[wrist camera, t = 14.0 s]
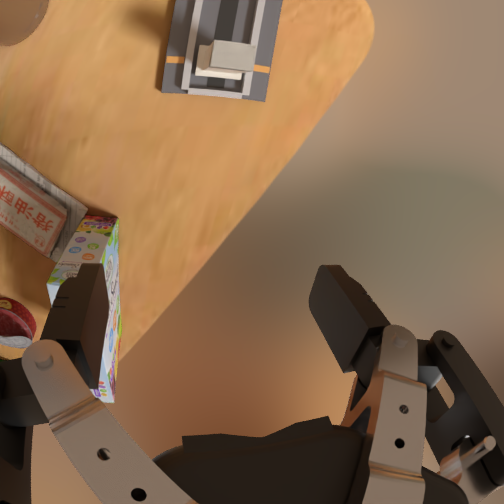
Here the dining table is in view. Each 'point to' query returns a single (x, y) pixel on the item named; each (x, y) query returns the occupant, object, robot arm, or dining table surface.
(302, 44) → the dining table surface
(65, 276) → the snack box
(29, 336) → the canned food
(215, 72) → the fader tab
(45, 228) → the packaged product
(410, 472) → the robot arm
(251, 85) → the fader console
